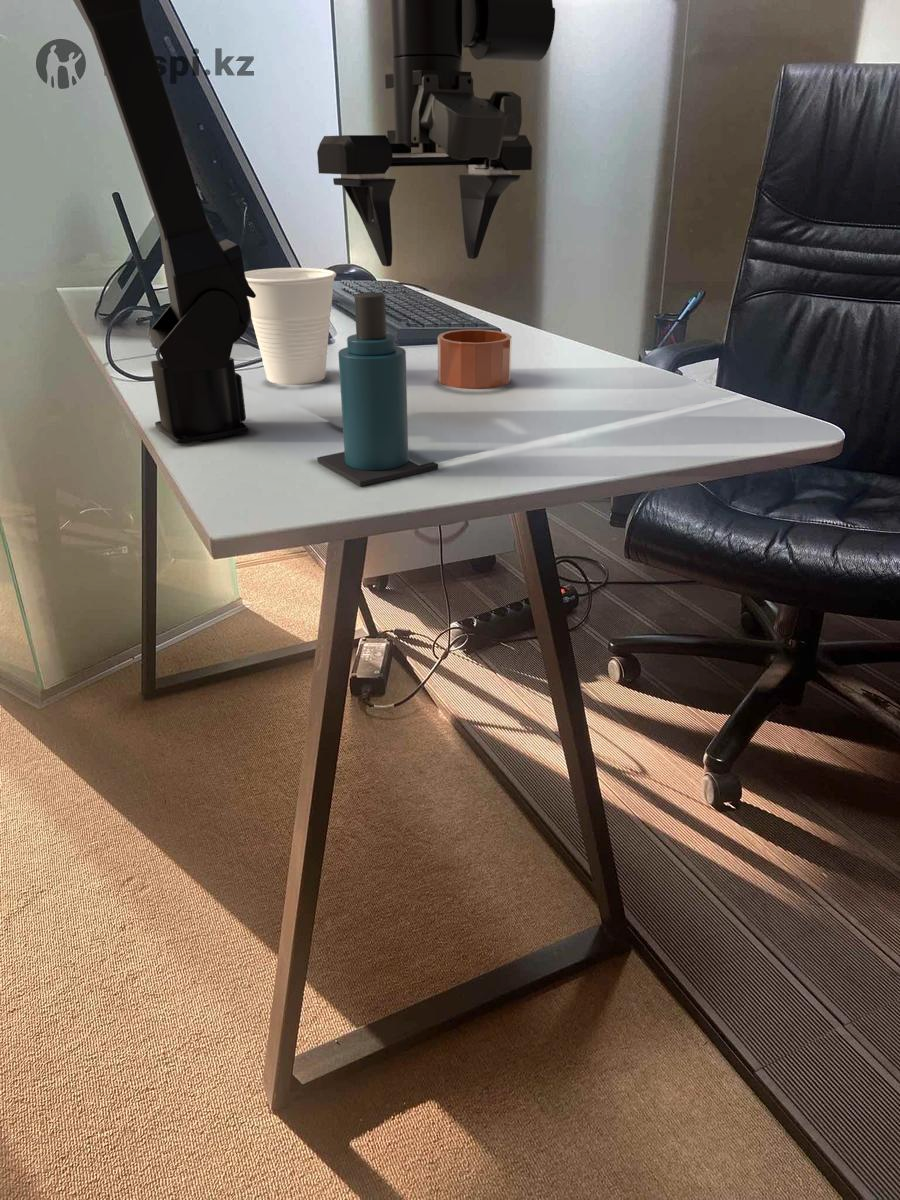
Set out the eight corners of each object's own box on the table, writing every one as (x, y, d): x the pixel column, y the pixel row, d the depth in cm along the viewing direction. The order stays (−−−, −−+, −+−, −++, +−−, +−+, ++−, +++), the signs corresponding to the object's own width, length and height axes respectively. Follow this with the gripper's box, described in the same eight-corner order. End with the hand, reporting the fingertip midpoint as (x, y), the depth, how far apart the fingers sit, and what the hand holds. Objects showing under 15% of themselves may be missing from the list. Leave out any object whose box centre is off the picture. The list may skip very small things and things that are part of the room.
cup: (295, 398, 86) (285, 282, 81) (230, 383, 92) (217, 274, 86) (361, 379, 93) (356, 272, 88) (297, 367, 99) (289, 265, 93)
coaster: (360, 486, 64) (360, 481, 63) (317, 461, 69) (316, 457, 68) (438, 468, 67) (438, 464, 67) (391, 446, 72) (391, 442, 72)
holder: (466, 397, 87) (466, 346, 84) (424, 382, 92) (424, 334, 90) (524, 386, 90) (526, 337, 88) (481, 372, 96) (482, 326, 94)
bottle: (364, 475, 65) (356, 302, 59) (333, 458, 68) (322, 293, 62) (420, 463, 67) (417, 295, 61) (387, 447, 71) (381, 287, 65)
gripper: (376, 43, 60) (386, 280, 67) (579, 55, 69) (568, 263, 76) (307, 57, 68) (322, 266, 75) (496, 66, 77) (493, 252, 84)
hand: (430, 262), depth 77 cm, fingers open, 9 cm apart
